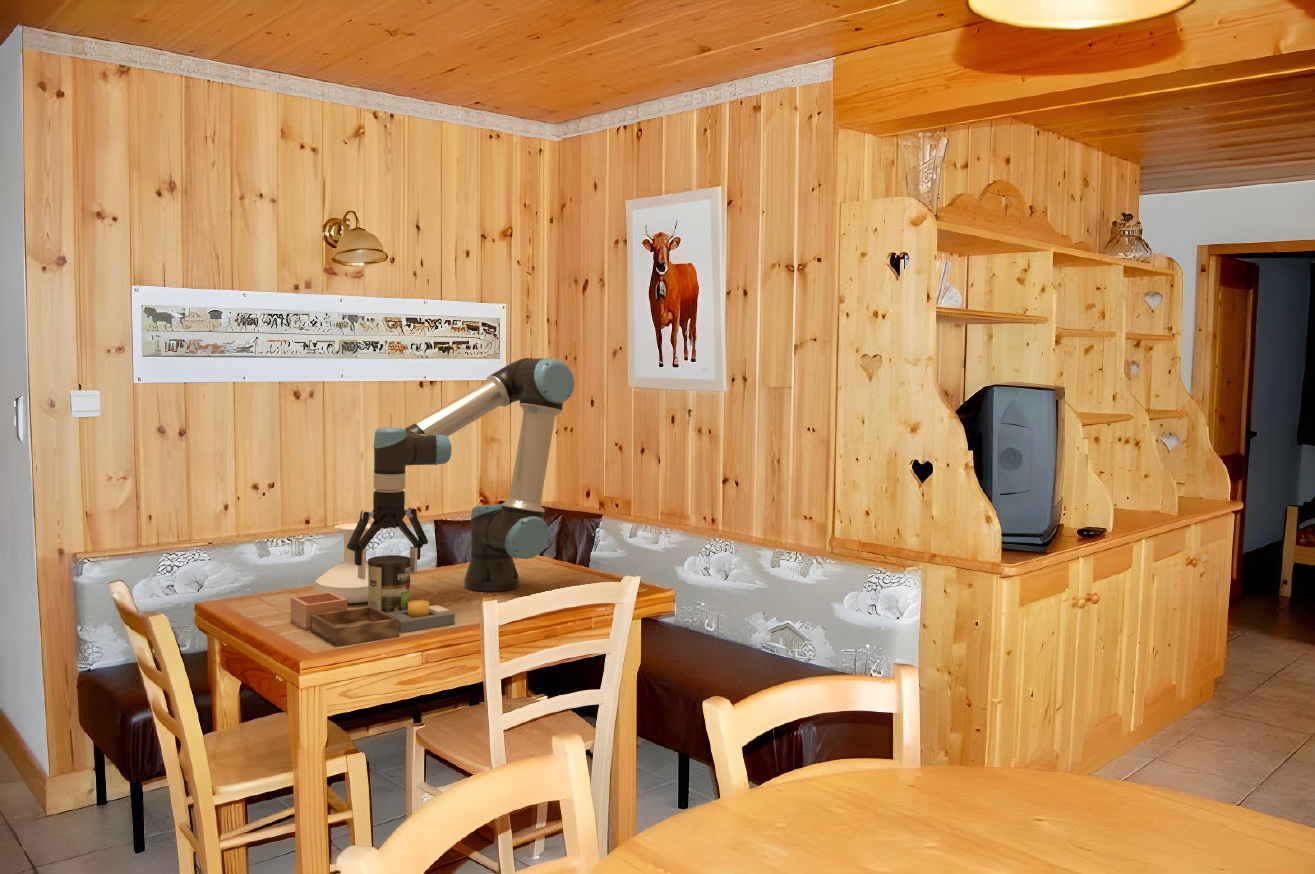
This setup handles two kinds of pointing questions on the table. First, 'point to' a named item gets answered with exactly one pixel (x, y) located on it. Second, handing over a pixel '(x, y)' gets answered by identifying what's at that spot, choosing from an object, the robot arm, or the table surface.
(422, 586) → the table surface
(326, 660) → the table surface
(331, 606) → the terracotta square planter
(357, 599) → the candle holder
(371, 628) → the dark wooden tray
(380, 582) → the coffee can
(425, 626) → the base
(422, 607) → the button
